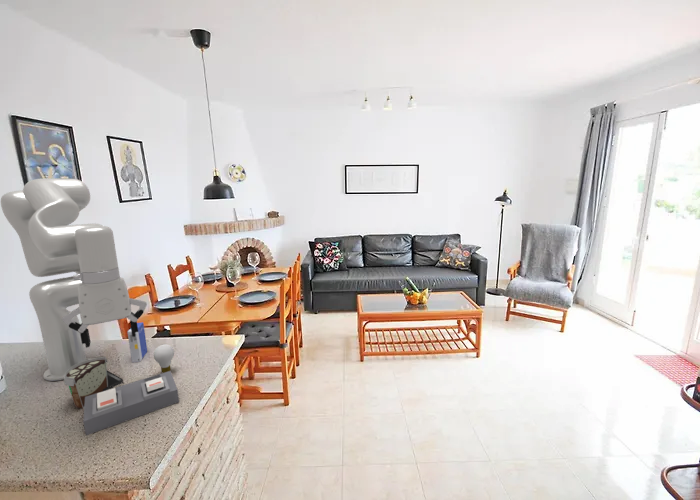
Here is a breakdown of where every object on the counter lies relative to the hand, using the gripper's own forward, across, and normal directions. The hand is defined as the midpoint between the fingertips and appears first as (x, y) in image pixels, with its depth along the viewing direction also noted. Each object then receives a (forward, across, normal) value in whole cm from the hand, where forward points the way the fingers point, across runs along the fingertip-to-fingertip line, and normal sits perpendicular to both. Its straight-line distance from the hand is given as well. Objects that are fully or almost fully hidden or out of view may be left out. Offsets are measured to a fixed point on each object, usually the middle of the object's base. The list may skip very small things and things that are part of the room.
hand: (111, 340), depth 85 cm
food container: (+22, -9, +16) cm, 28 cm away
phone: (+22, -7, +24) cm, 33 cm away
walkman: (+22, +5, +34) cm, 41 cm away
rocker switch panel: (+22, +2, +3) cm, 22 cm away
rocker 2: (+16, +8, +1) cm, 18 cm away
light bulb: (+22, +12, +16) cm, 30 cm away
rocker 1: (+16, -3, +1) cm, 17 cm away
